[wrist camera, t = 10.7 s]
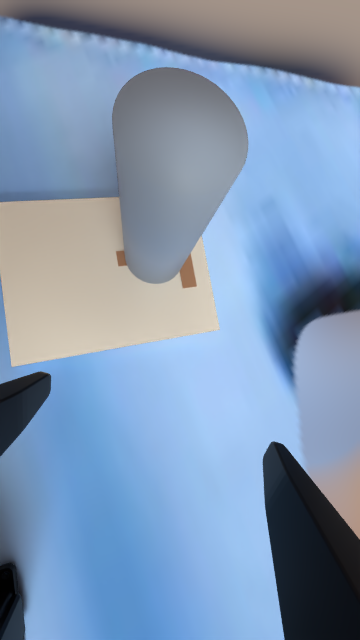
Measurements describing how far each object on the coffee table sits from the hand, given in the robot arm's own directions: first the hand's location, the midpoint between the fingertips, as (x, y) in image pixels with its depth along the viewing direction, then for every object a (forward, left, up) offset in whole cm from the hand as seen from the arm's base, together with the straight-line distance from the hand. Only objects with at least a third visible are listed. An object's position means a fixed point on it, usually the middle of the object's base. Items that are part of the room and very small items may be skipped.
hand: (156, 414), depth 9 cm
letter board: (-1, +10, -13) cm, 16 cm away
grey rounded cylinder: (+3, +11, -12) cm, 16 cm away
